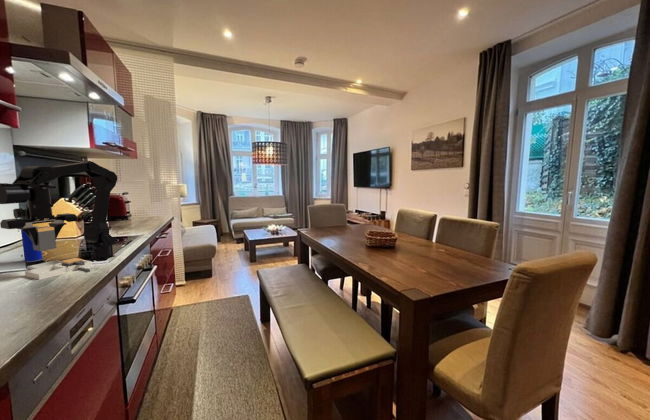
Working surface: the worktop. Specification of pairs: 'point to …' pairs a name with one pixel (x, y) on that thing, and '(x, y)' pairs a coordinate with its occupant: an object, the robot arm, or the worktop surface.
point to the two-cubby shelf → (54, 270)
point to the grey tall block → (45, 238)
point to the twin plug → (74, 263)
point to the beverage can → (30, 249)
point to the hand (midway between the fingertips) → (44, 243)
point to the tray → (44, 264)
